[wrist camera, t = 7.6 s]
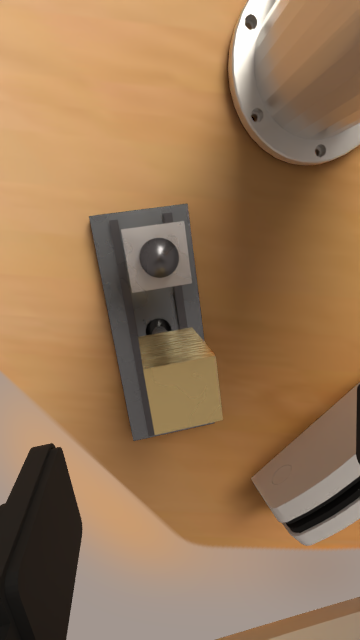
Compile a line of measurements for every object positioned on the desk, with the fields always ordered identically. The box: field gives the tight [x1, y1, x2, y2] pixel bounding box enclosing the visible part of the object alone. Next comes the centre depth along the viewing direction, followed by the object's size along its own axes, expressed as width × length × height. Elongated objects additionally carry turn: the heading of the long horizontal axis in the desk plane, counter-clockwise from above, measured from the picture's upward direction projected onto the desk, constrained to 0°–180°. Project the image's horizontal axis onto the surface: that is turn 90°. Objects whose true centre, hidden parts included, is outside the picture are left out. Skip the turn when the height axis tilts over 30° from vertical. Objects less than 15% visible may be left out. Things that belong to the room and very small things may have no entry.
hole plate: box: [89, 204, 214, 441], centre depth 21 cm, size 18×7×10 cm, turn 8°
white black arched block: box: [251, 382, 360, 546], centre depth 28 cm, size 17×5×10 cm, turn 131°
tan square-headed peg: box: [138, 326, 223, 435], centre depth 19 cm, size 3×3×11 cm
